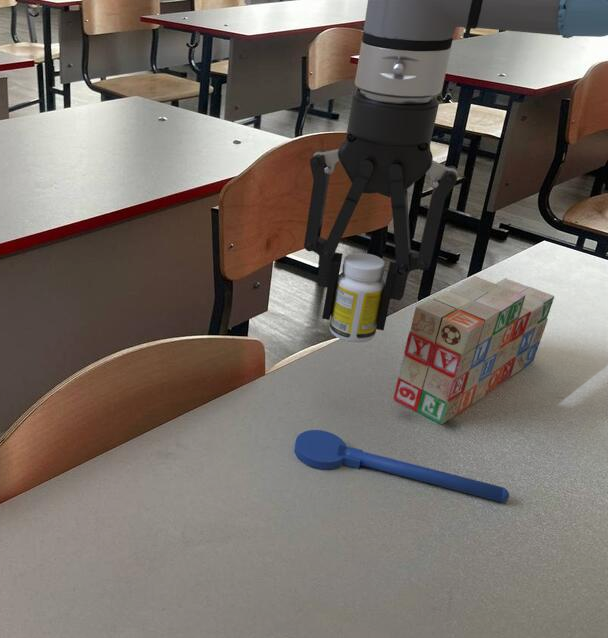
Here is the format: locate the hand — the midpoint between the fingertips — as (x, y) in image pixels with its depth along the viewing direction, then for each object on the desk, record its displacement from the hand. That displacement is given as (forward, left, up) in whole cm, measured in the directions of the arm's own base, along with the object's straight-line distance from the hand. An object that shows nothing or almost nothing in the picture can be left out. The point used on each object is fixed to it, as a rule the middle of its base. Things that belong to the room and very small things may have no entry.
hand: (354, 318), depth 80 cm
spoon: (-7, +9, -11) cm, 16 cm away
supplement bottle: (0, 0, -2) cm, 2 cm away
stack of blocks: (-14, -11, -11) cm, 21 cm away
